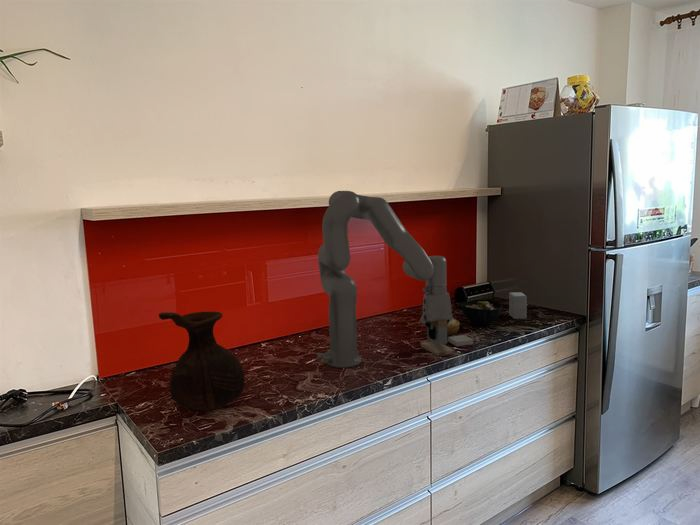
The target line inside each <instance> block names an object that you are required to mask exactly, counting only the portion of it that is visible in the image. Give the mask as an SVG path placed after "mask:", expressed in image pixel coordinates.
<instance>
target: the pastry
mask: <svg viewBox="0 0 700 525" xmlns="http://www.w3.org/2000/svg"><path fill="white" fill-rule="evenodd" d="M459 329H460V321H459V320H458V319H456V318H453V319H452V320H451V321H449V323H448V324H447V337H449V336H455V335H456V334H458V332H459Z"/></svg>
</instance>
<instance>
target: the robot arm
mask: <svg viewBox="0 0 700 525" xmlns="http://www.w3.org/2000/svg"><path fill="white" fill-rule="evenodd" d="M351 218H354V219H360V220H365V221H366V220H367V221H370V222H371V224H372V225H373V227H374V228H375V229H376V231H377V232H378V234H379V235H380V237H381V239H382V240H383V242H384V243H385V244H386V246H388V247H389V248H390V249H392V250H393V251H394V252H396V253H397V254H398V255H399V256H400V257H402V259H403V260H404V261H403V264H402V269H403V270H402V271H403V272H404V273H405V275H407V276H408V277H411V278H413V279H416V280H418V281H422V282H423V281H424V282H425V287H423V288H422V292H425V293H424V294H423V300H422V315H421V317H420V320H419V323H421V324H423V325H425V327H426V328H427V327H428V335H429V338H430V339H432V340H434V339H435V330H434V329H433V326H434V322H435V321H437V320H444V319H445V320H447V324H448V323H449V321H451V320H452V319H453V318H454V316H453V314H452V312H453V311H452V301H451V297H450V293H449V292H448V291H447V290H448V289H447V286H448V284H447V283H448V282H447V281H448V280H447V259H446V258H445V256H443V255H430V256H428V254H427V253H426V251H425V250H424V249H423V247H422V246H421V245H420V243H419V242H418V241H416V239H415V238H414V237H413V236H412V235H411V233H409V232H408V230H407V229H406V228H405V226H404V225H403V223H402V222H401V220H400V219H399V217H398V216H397V214H396V213H395V211H394V210H393V208H392V207H391V206H390V204H389V203H388V201H387V200H386V199H385V198H383V197H379V196H378V197H377V196H367V195H362V194H357V193H356V192H354V191H350V190H337V191H335V192H333V193H332V194H331V195H330V197H329V198H328V207H327V209H326V211H325V212H324V215H323V218H322V225H321V228H322V229H321V231H322V240H323V241H322V244H321V245H320V247H319V249H318V253H317V259H318V260H317V261H318V270H319V277H320V283H321V287H322V290H323V291H324V292H325V293H326V294H327V296H329V302H328V321H329V322H328V324H329V327H328V328H329V348H328V349H327V351H325V353H317V354H316V357H317V360H323V361H326V364H327V366H331V367H332V368H338V369H339V368H342V369H343V368H352V367H356V366H359V365H360V364H362V362H363V357H362V356H361V355H359V354H358V344H357V343H358V339H357V338H358V334H357V300H358V299H357V296H358V287H357V284H356V282H355V280H354V279H353V278H352V277H351V276H350V275H349V274H347V273H346V269H347V268H348V267H349V265H350V263H351V251H350V242H349V236H348V225H349V222H350V219H351ZM454 319H455V318H454ZM426 320H428V321H426Z"/></svg>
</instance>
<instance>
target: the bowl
mask: <svg viewBox="0 0 700 525" xmlns="http://www.w3.org/2000/svg"><path fill="white" fill-rule="evenodd" d="M460 308H461V311H462V314H463V316H464V317H465V318H466V319H467V320H468V321H469V322H470V324H471V326H472V325H473V326H475V327H489V326H491V325H492V324H493V322H494V321H496V320H497V319H498V317H499V316H500V315H501V312H502V311H503V310H502V309H503V304H502V303H501V302H499V301H496V300H492V299H476V300H470V301H466V302H464V303H461V305H460Z"/></svg>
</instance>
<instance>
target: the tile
mask: <svg viewBox="0 0 700 525" xmlns="http://www.w3.org/2000/svg"><path fill="white" fill-rule="evenodd" d="M447 342H449V343H450V344H452V345H454V346H455V347H462V346H469V345H471V346H472V345H474V339H473V338H471V337H469V336H467V335H466V334H459V335H451V336H447Z"/></svg>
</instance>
